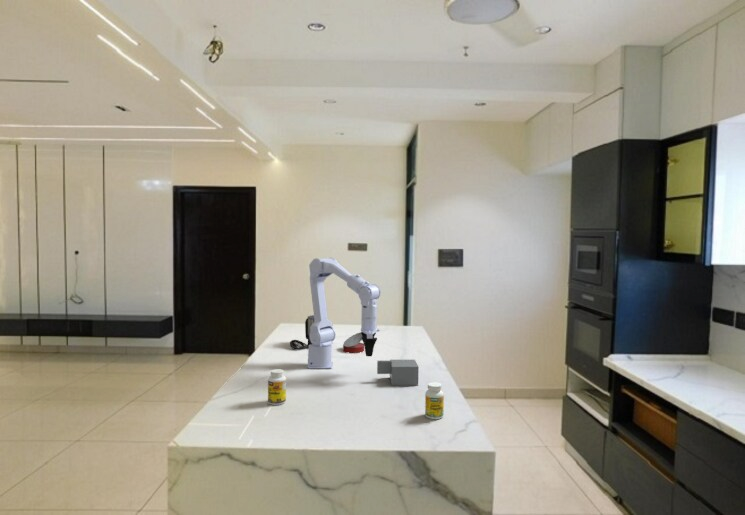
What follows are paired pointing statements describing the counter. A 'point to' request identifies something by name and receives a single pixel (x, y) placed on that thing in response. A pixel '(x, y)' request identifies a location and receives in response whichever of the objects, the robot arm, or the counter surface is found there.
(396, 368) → the grey blocky piece
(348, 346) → the canned food
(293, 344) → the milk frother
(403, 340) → the counter surface
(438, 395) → the supplement bottle
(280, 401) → the supplement bottle
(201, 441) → the counter surface
